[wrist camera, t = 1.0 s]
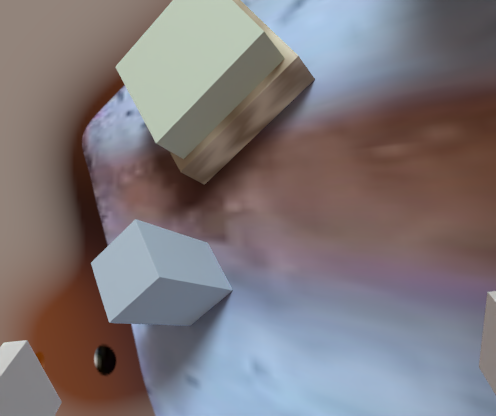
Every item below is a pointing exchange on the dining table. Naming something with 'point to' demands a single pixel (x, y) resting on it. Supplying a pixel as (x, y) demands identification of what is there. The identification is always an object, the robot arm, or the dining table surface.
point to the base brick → (248, 112)
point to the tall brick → (158, 277)
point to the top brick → (195, 69)
